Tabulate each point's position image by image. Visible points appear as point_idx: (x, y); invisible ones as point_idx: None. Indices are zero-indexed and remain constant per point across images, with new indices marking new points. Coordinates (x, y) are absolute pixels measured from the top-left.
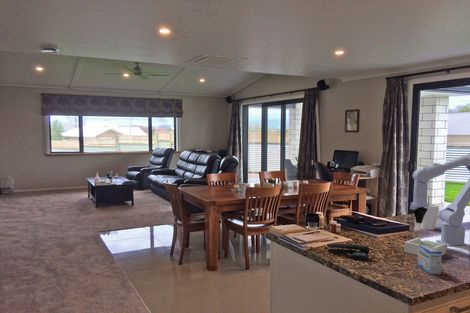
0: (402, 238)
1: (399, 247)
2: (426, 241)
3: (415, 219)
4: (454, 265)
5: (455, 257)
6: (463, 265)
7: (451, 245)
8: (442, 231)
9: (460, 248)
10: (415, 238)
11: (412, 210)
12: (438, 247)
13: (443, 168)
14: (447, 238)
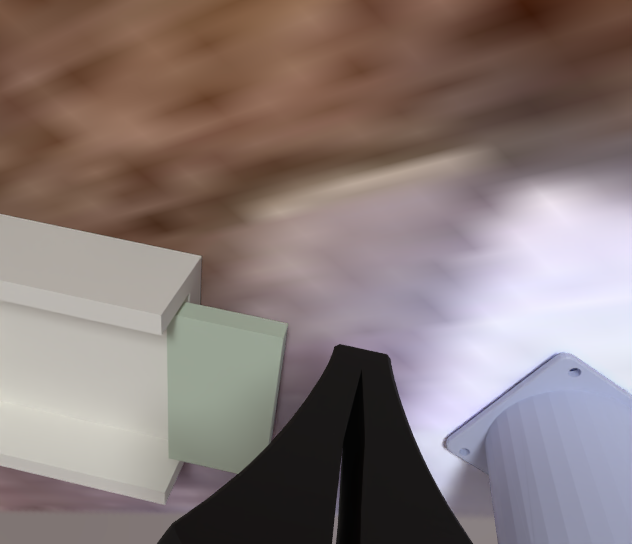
0: (427, 9)
1: (23, 123)
2: (234, 350)
3: (326, 374)
4: (28, 477)
5: (181, 477)
6: (74, 506)
7: (463, 456)
8: (544, 496)
9: (443, 494)
10: (86, 302)
11: (186, 516)
12: (29, 468)
13: None
14: (493, 477)
